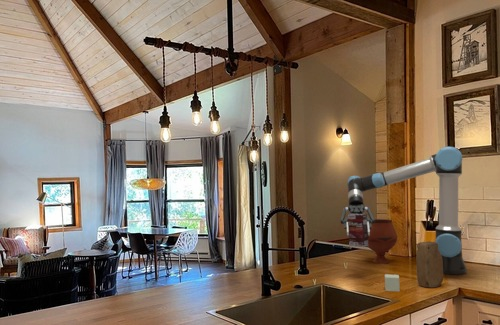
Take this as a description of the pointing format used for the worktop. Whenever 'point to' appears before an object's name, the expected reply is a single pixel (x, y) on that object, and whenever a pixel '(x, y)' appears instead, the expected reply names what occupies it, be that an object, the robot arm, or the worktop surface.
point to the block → (429, 264)
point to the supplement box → (358, 230)
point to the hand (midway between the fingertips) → (358, 233)
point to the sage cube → (392, 283)
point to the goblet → (381, 239)
